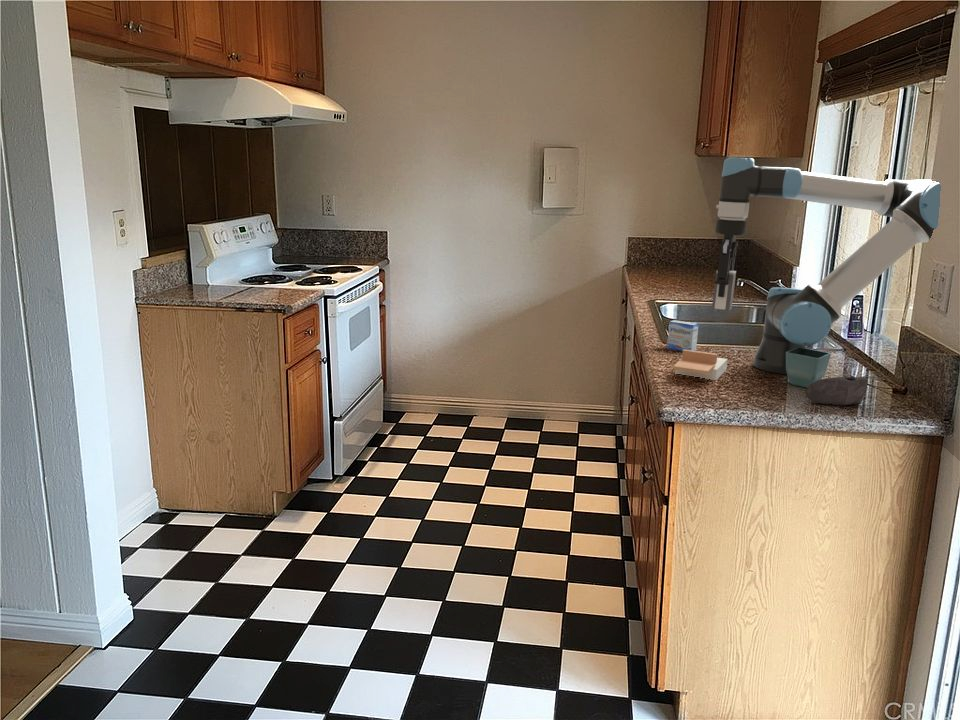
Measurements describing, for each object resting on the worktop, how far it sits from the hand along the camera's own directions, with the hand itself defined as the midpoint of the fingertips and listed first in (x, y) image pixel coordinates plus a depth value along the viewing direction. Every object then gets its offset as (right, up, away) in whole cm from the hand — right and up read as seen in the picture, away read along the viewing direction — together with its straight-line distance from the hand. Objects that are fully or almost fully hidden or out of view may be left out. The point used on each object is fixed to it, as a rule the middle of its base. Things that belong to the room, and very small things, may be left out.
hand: (721, 307), depth 214 cm
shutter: (-7, -16, 0) cm, 18 cm away
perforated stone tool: (+22, -25, -18) cm, 38 cm away
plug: (0, 0, 0) cm, 0 cm away
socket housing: (-3, -17, +8) cm, 19 cm away
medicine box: (-2, -11, +34) cm, 36 cm away
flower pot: (+21, -21, -2) cm, 30 cm away
